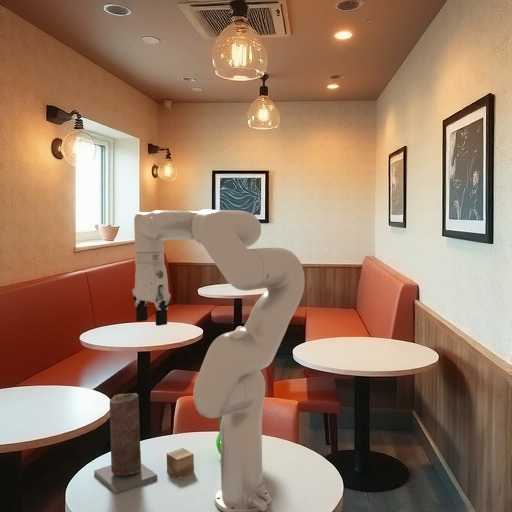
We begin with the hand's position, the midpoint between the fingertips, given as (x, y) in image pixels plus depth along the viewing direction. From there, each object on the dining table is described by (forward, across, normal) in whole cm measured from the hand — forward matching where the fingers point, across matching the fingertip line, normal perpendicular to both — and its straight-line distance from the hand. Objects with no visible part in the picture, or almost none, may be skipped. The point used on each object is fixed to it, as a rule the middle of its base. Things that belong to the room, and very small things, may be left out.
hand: (151, 322), depth 140 cm
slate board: (+38, -2, +10) cm, 39 cm away
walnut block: (+38, -10, -1) cm, 39 cm away
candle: (+37, -3, +10) cm, 38 cm away
